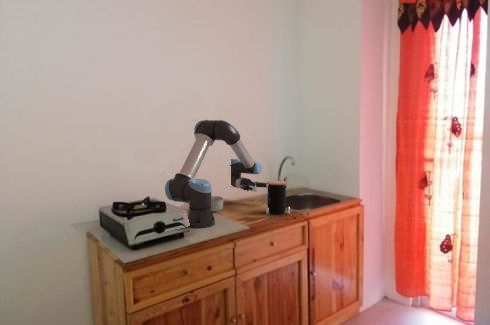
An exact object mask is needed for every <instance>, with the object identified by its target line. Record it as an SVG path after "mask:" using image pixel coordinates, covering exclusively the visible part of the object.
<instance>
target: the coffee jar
mask: <svg viewBox="0 0 490 325" xmlns="http://www.w3.org/2000/svg"><path fill="white" fill-rule="evenodd" d="M286 183H287V182H286V181H283V180H270V181H268V184H269V185H268V188H267V207H268V208H269V214H270V213H271V215H275V214H280V215H283V213H284V214H285V212H287V207H286V206H287V205H286V203H287V201H286V200H287V197H286V196H287V186H286V185H287V184H286Z"/></svg>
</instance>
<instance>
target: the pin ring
mask: <svg viewBox="0 0 490 325" xmlns="http://www.w3.org/2000/svg"><path fill="white" fill-rule="evenodd" d="M270 214H271V213H269V208H268V206H266V208H265V215H266V216H268V215H270ZM290 214H291V206H287V207H286V215H290ZM271 215H272V214H271ZM274 215H281V214H274Z"/></svg>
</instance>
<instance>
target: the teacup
mask: <svg viewBox="0 0 490 325" xmlns="http://www.w3.org/2000/svg"><path fill="white" fill-rule="evenodd" d="M223 208H224V197H222V196H219V195H218V196H217V195H211V210H212V213H218V212H221V210H222V209H223Z"/></svg>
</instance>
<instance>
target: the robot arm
mask: <svg viewBox="0 0 490 325" xmlns="http://www.w3.org/2000/svg"><path fill="white" fill-rule="evenodd" d="M193 129H194V131H193V134H194V142H193V145H192V147H191V148H190V151H189V153H188V155H187V157H186V159H185V161H184V163H183V164H182V167H181V169H180V171H179V172H177V173H176V174H174V177H173V178H170V179H169V180H166V183H165V187H164V192H165V196H166V198H167V199H168V200H169V201H173V202H175V203H176V202H177V203H186V204H188V209H189V210H188V213H187V215H186V217H187V216H188V219H189V223H190V226H191V227H190V228H195V229H196V228H197V229H202V228H203V229H204V228H208V227H212V226H214V225H215V224H216V222H215V221H216V220H215V217H214V216H215V215H214V212H212V210H211V196H212V184H211V182H210V181H208V180H206V179H203V178H195V177H196V176H197V173H198V171H199V168H200V166H201V165H202V162H203V160H204V158H205V156H206V154H207V152H208V150H209V147H212V146H213V145H214V144H215V141H222V142H225V143H226V145H228V146H230V148H231V149H232V151H233V152H234V154H235V155H236V157H237V158H236V157H235V158H236V159H233V158H231V159H230V160H231V165H230V164H229V167H230V166H231V185H232V186H233V187H232V186H231V187H232V188H236V189H240V190H241V191H242V190H243V191H246V192H249V191H251V192H255V193H257V192H258V188H264V189H265V188H266V189H268V185H269V184H268V182H269V181H268V182H261V181H255V182H254V181H252V180H251V179H250V178H246V177H242V174H245V175H246V174H248V175H259V174H261V172H262V164H261V163H260V162H255V160H254V158H253V156H252V155H251V153H250V152H249V150H248V149H247V147H246V145H245V144H244V142H243V140H242V139H241V134H240V133H239V130H237V129H236V128H235V126H233V125H232V124H231V123H229V122H228V121H226V120H223V119H216V120H215V119H214V120H213V119H211V120H209V119H203V120H200V121H198V122H197V123H196V124H195V125H194V127H193Z"/></svg>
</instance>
